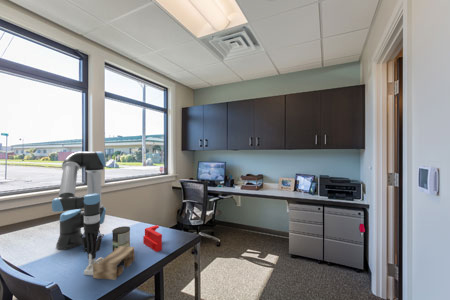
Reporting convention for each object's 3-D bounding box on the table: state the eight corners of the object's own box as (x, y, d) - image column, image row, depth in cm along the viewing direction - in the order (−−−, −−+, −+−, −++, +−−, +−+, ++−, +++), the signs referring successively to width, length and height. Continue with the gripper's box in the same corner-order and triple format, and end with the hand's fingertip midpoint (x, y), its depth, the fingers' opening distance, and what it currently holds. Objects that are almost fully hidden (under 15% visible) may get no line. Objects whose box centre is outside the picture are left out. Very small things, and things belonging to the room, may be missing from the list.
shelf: (93, 278, 101) (93, 262, 101) (115, 259, 118) (115, 246, 118) (115, 279, 99) (115, 263, 99) (134, 261, 116) (134, 247, 116)
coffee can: (109, 255, 123) (109, 232, 123) (116, 247, 133) (116, 226, 133) (126, 254, 124) (126, 232, 124) (132, 246, 134) (132, 226, 134)
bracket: (143, 229, 139) (156, 225, 146) (143, 243, 139) (156, 238, 146) (156, 236, 127) (170, 231, 134) (156, 252, 127) (170, 246, 134)
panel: (84, 275, 104) (84, 268, 104) (100, 262, 115) (100, 256, 116) (105, 276, 102) (105, 269, 102) (119, 263, 114) (120, 257, 114)
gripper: (75, 224, 107) (75, 267, 107) (97, 224, 105) (97, 269, 105) (86, 219, 114) (86, 260, 114) (107, 220, 113) (107, 261, 113)
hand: (91, 264), depth 110 cm, fingers closed
